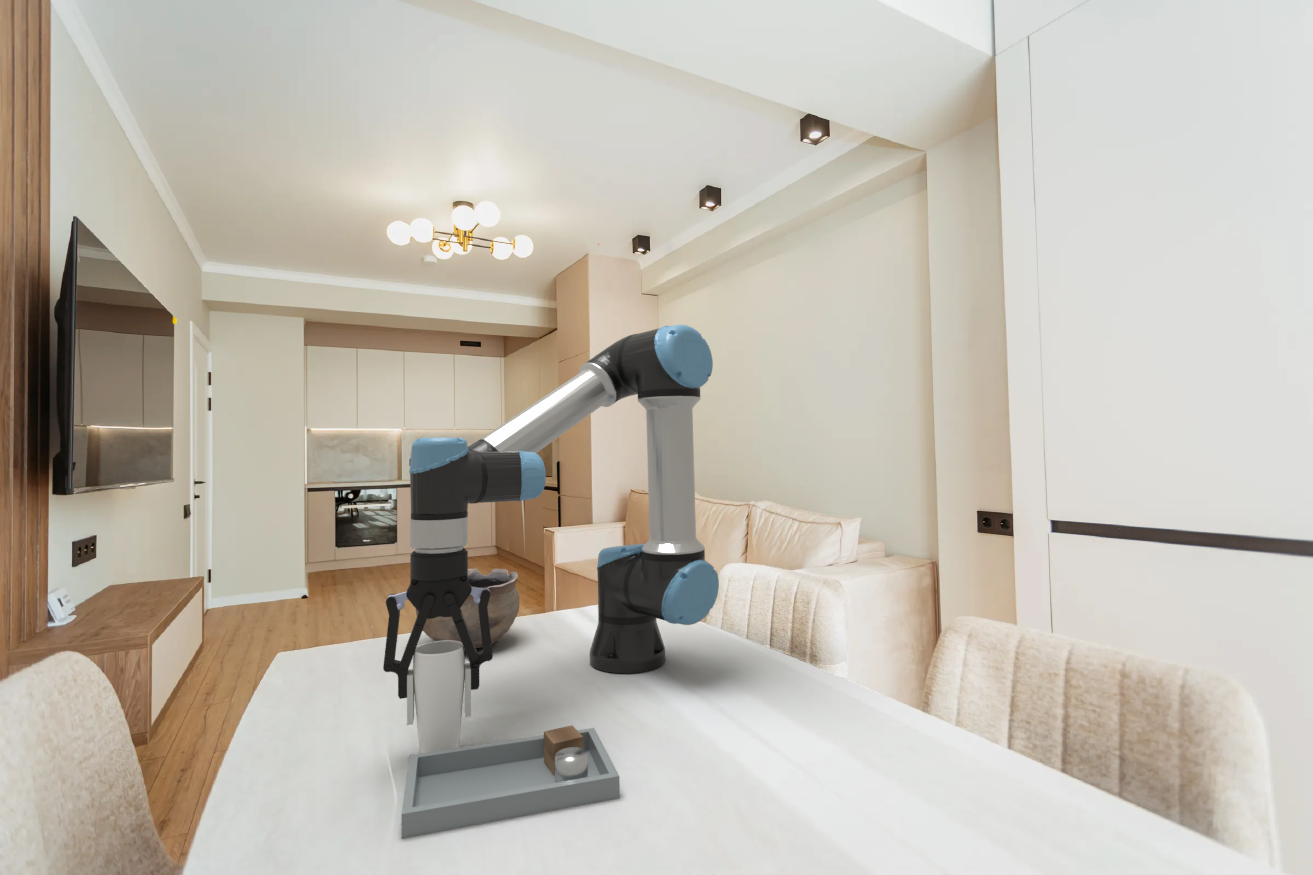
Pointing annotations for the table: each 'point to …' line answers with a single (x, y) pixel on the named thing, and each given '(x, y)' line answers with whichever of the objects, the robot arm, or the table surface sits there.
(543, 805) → the collection tray
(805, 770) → the table surface
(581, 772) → the metal cylinder
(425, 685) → the drinking glass
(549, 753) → the walnut cube
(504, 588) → the ceramic bowl
